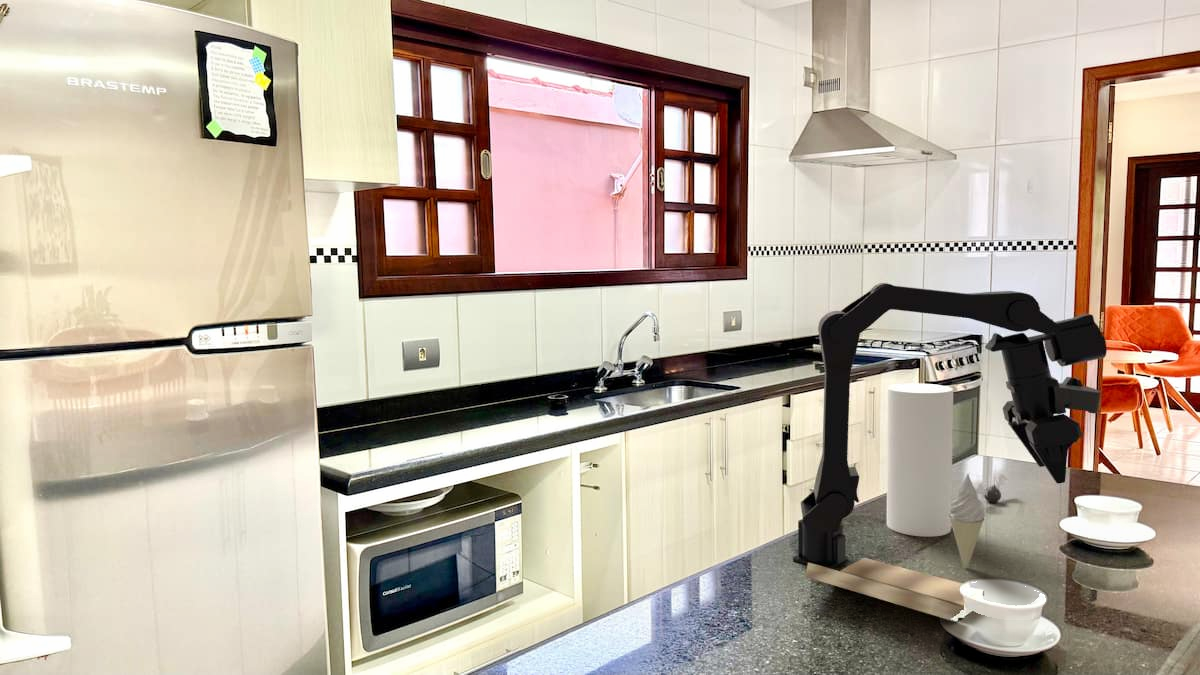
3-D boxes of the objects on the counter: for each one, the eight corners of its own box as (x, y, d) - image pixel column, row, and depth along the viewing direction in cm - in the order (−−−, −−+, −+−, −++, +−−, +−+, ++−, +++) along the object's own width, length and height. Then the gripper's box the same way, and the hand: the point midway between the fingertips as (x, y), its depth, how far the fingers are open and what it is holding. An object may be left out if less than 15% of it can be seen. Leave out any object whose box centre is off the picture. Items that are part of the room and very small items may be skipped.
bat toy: (965, 509, 156) (966, 484, 155) (1002, 493, 165) (1002, 470, 165) (981, 512, 153) (981, 487, 153) (1017, 496, 163) (1017, 472, 162)
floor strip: (838, 584, 122) (838, 571, 121) (863, 570, 127) (864, 557, 127) (961, 620, 109) (961, 606, 109) (984, 603, 114) (984, 589, 114)
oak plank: (804, 576, 115) (808, 562, 115) (835, 585, 121) (838, 572, 121) (931, 614, 102) (934, 598, 102) (958, 622, 108) (961, 607, 108)
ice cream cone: (968, 577, 123) (970, 479, 122) (940, 566, 128) (942, 471, 126) (991, 570, 125) (993, 474, 124) (962, 560, 130) (964, 467, 128)
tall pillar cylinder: (964, 531, 143) (967, 389, 141) (916, 540, 139) (918, 394, 137) (920, 514, 153) (921, 381, 151) (873, 522, 149) (874, 386, 147)
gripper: (1110, 371, 111) (1135, 481, 112) (1067, 353, 129) (1089, 448, 130) (1022, 388, 114) (1047, 496, 115) (992, 369, 132) (1014, 462, 133)
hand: (1051, 474), depth 123 cm, fingers open, 9 cm apart
